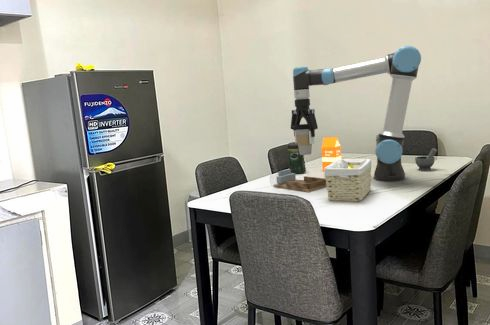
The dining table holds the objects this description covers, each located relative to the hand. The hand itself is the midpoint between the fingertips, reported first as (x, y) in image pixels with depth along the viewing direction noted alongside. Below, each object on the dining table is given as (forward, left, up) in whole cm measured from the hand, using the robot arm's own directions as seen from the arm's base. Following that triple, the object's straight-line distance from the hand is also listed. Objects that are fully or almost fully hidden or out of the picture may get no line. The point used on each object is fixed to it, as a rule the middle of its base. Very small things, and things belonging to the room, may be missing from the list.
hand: (304, 143), depth 215 cm
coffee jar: (+28, -23, -22) cm, 42 cm away
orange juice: (+14, -38, -22) cm, 46 cm away
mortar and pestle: (-32, -61, -22) cm, 72 cm away
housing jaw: (+11, +4, -20) cm, 23 cm away
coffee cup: (0, 0, -6) cm, 6 cm away
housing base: (0, +4, -22) cm, 22 cm away
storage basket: (-31, +7, -22) cm, 39 cm away
